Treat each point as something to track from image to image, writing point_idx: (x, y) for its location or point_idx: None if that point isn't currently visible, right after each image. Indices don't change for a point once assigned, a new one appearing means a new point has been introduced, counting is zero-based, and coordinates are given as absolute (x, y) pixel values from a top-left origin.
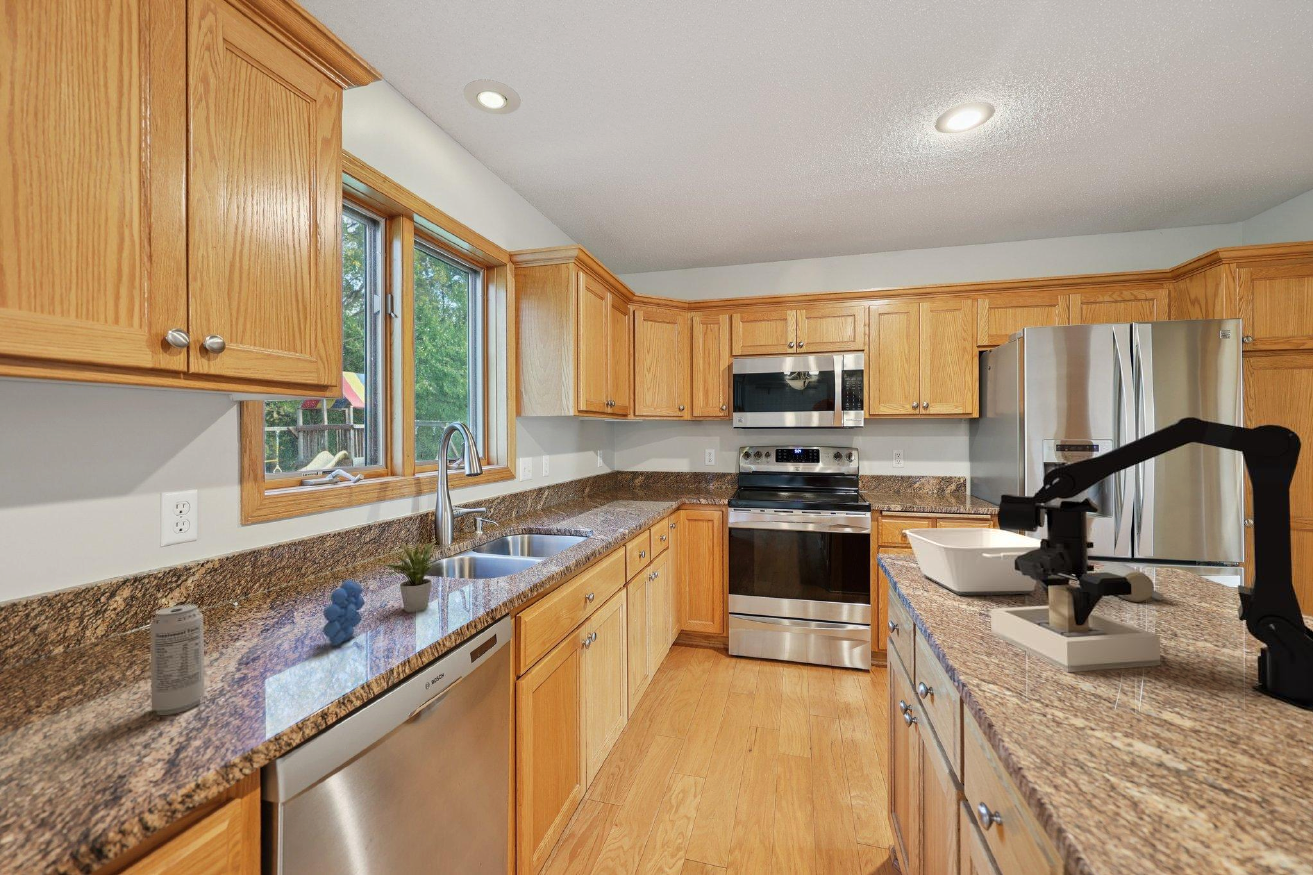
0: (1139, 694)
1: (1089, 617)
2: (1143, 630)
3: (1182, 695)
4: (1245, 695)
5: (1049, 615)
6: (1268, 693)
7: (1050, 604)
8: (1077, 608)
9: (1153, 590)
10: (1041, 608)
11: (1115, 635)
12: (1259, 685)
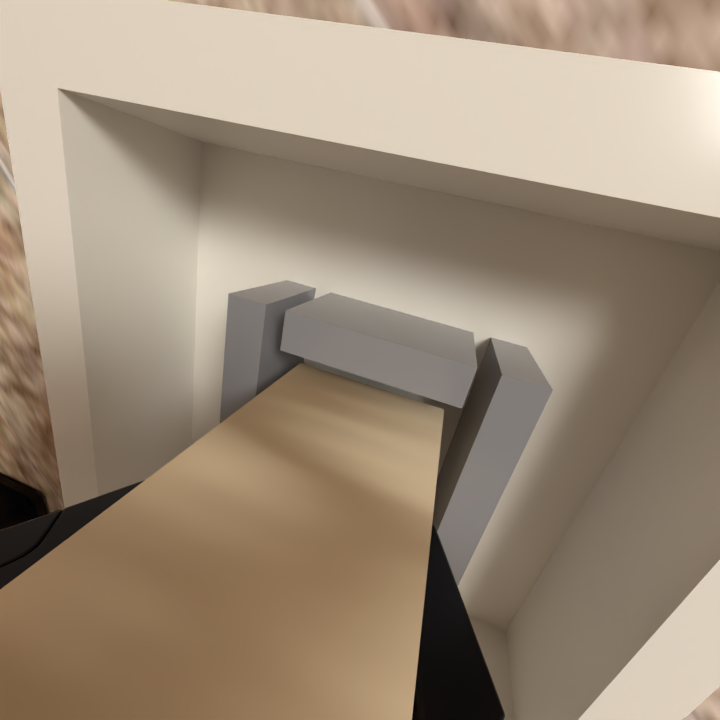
0: (9, 172)
1: None
2: None
3: (12, 303)
4: (20, 445)
5: (434, 469)
6: (9, 483)
7: (400, 558)
8: (77, 515)
9: None
10: (639, 659)
11: (81, 441)
12: (34, 514)
